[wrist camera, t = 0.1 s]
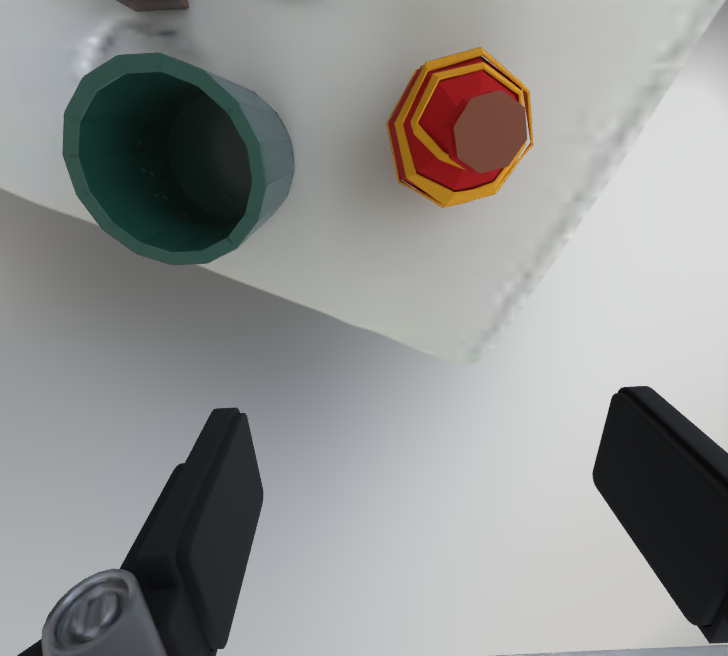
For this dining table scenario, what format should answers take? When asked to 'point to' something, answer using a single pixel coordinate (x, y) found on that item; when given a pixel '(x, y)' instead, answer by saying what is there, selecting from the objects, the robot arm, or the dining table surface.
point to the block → (154, 4)
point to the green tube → (174, 157)
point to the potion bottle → (459, 128)
